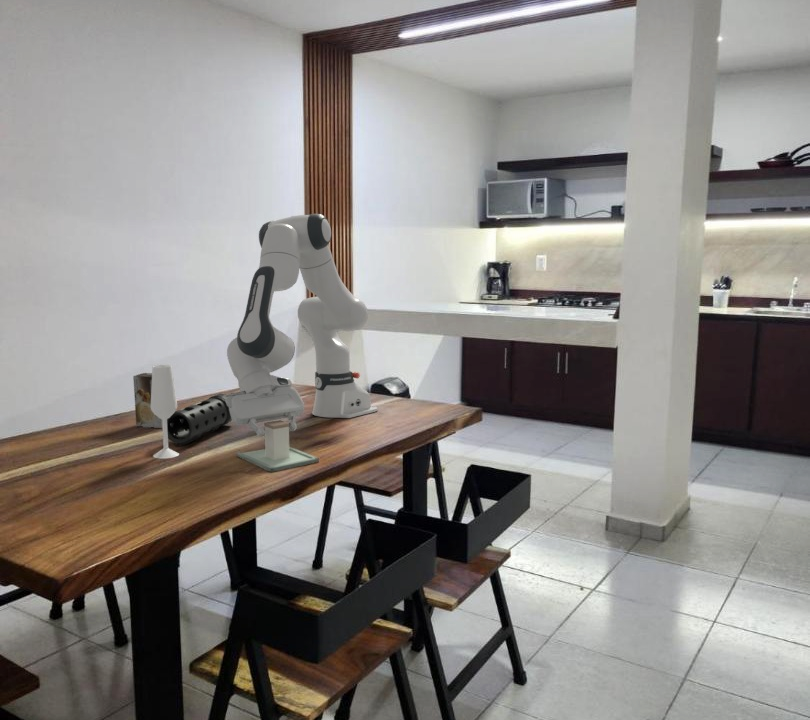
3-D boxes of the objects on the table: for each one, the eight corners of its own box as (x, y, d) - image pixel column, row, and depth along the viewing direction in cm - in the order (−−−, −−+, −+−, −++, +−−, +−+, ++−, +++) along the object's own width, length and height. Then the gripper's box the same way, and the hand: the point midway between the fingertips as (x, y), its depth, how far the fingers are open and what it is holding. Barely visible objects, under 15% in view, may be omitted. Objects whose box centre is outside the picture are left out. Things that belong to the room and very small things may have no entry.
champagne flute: (178, 450, 197) (174, 363, 194) (180, 457, 191) (176, 367, 187) (152, 452, 195) (148, 364, 191) (153, 459, 189) (148, 368, 185)
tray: (283, 447, 201) (283, 444, 201) (318, 461, 187) (318, 458, 187) (236, 456, 192) (236, 452, 192) (270, 472, 178) (270, 468, 178)
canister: (280, 453, 193) (280, 420, 191) (289, 457, 189) (289, 423, 188) (265, 456, 190) (264, 422, 188) (274, 460, 186) (273, 426, 185)
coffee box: (172, 424, 228) (170, 373, 226) (161, 428, 222) (159, 377, 219) (146, 422, 230) (144, 372, 228) (134, 426, 224) (132, 375, 222)
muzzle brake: (162, 446, 202) (161, 410, 201) (213, 423, 229) (212, 391, 227) (193, 448, 200) (192, 412, 198) (240, 425, 227) (239, 393, 225)
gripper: (226, 387, 185) (245, 431, 179) (295, 378, 198) (315, 419, 192) (219, 401, 189) (237, 445, 183) (287, 392, 202) (306, 432, 196)
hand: (278, 432), depth 188 cm, fingers open, 8 cm apart
